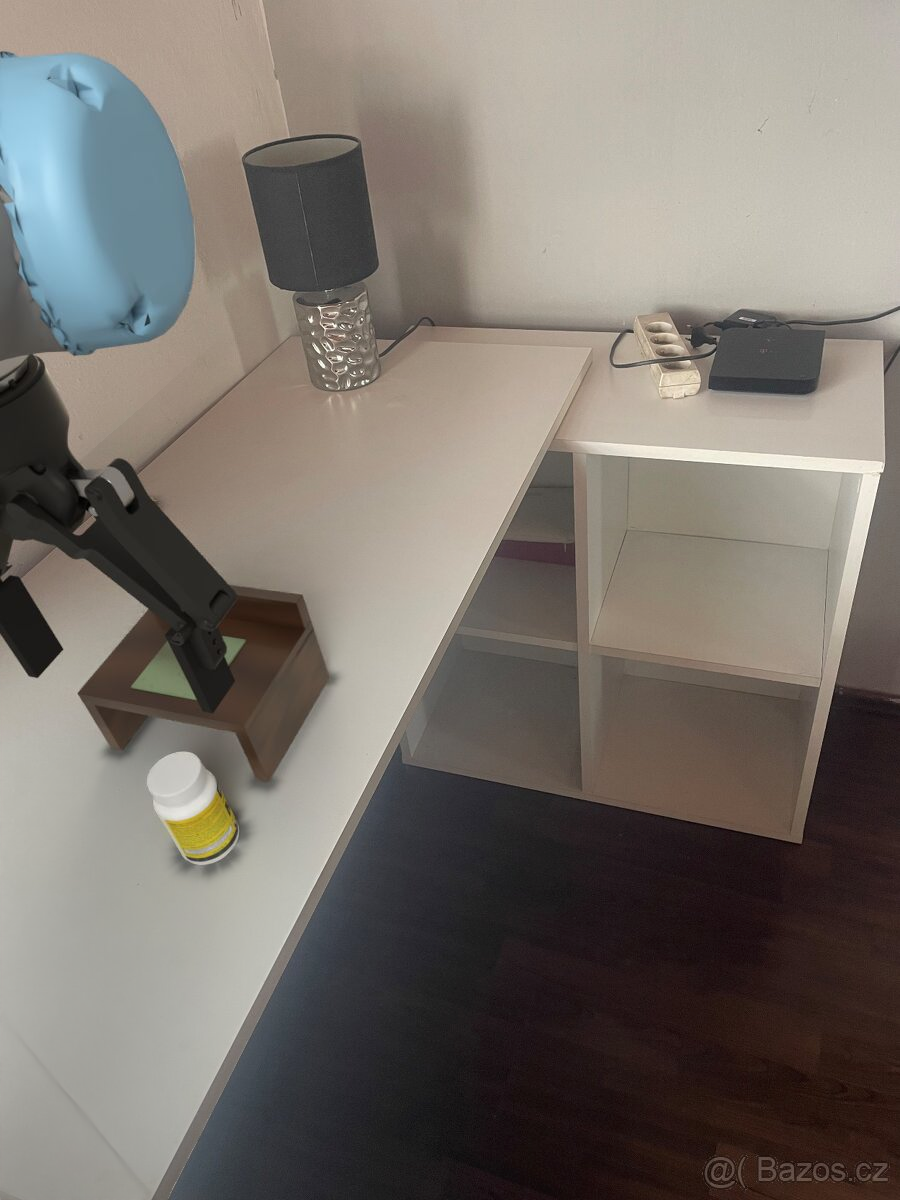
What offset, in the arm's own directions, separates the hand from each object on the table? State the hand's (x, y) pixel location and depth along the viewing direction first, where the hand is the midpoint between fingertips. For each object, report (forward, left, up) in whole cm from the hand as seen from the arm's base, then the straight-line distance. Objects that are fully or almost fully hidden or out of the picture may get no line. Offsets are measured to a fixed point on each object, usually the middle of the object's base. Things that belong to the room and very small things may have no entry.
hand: (129, 679), depth 55 cm
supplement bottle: (0, 0, -18) cm, 18 cm away
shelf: (+12, +6, -18) cm, 23 cm away
